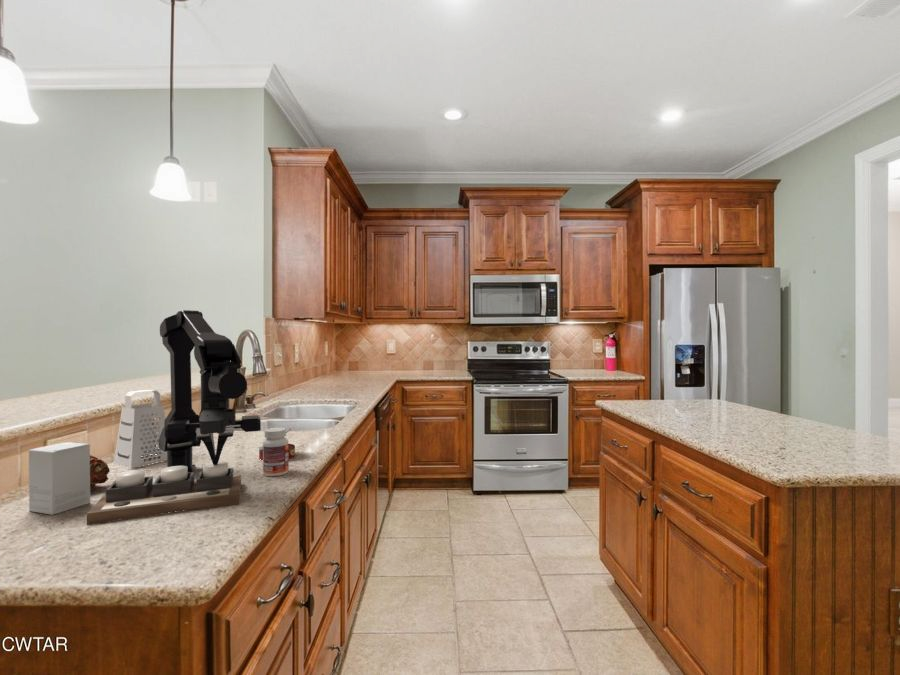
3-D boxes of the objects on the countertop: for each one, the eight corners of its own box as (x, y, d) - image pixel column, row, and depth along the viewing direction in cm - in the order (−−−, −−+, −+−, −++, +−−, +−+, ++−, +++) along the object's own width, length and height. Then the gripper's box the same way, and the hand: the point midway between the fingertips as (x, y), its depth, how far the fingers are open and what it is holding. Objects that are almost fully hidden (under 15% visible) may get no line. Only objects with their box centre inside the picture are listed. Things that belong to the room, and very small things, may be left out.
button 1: (119, 482, 97) (119, 471, 97) (147, 479, 99) (146, 468, 99) (112, 489, 93) (112, 478, 93) (141, 486, 95) (141, 475, 95)
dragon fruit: (112, 495, 106) (51, 508, 103) (121, 466, 112) (64, 477, 109) (97, 472, 101) (32, 485, 98) (107, 443, 107) (46, 454, 104)
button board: (108, 499, 99) (108, 479, 99) (240, 484, 109) (240, 465, 109) (86, 524, 86) (86, 500, 86) (238, 503, 96) (238, 482, 96)
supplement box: (91, 503, 97) (91, 443, 97) (51, 516, 90) (51, 451, 90) (68, 499, 99) (68, 441, 99) (27, 511, 92) (27, 449, 92)
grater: (172, 460, 131) (172, 390, 131) (131, 469, 122) (130, 394, 122) (154, 455, 136) (153, 388, 136) (113, 463, 127) (113, 391, 127)
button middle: (163, 478, 100) (163, 467, 100) (189, 475, 102) (189, 464, 102) (158, 484, 96) (158, 473, 96) (185, 481, 98) (185, 470, 98)
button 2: (204, 473, 104) (204, 463, 104) (228, 471, 106) (228, 460, 106) (201, 480, 99) (201, 468, 99) (227, 477, 101) (227, 466, 101)
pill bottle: (291, 474, 117) (291, 430, 117) (265, 478, 113) (265, 432, 113) (285, 468, 122) (285, 426, 122) (260, 472, 118) (260, 428, 118)
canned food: (279, 478, 129) (266, 451, 124) (257, 468, 134) (244, 442, 130) (308, 452, 137) (298, 425, 133) (286, 444, 142) (275, 418, 138)
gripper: (159, 402, 91) (160, 480, 91) (260, 396, 99) (261, 469, 99) (169, 395, 101) (169, 465, 102) (260, 391, 109) (260, 456, 109)
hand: (215, 464), depth 102 cm, fingers closed
